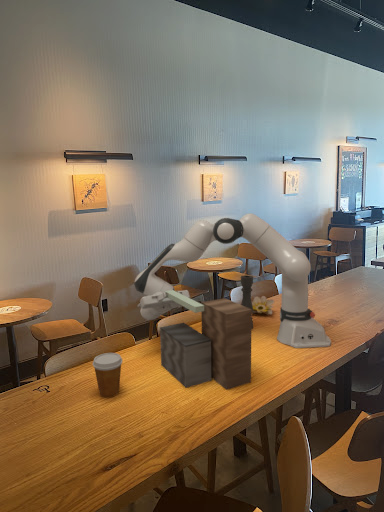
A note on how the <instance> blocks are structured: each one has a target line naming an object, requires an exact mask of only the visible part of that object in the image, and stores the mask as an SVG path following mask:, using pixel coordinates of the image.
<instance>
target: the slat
mask: <svg viewBox="0 0 384 512" xmlns="http://www.w3.org/2000/svg"><path fill="white" fill-rule="evenodd" d="M174 290H175V289H174ZM174 290H169V291H165V293H166V292H167V293H168V297H167V298H169V299H171V300H173V301H175V302H176V303H178V304H180V305H181V306H183V308H185V309H187V310H189V311H191V312H193V313H195V314H197V313H201V312H203V311H204V305H202V304H201V303H200V302H198V301H196V300H194V299H192V298H191V297H190V298H188V297H186V296H184V295H182V294H180V293H178V292H176V291H177V290H175V291H174Z"/></svg>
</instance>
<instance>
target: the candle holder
mask: <svg viewBox="0 0 384 512" xmlns="http://www.w3.org/2000/svg"><path fill="white" fill-rule="evenodd" d="M240 284H241V285H240V286H241V287H242V288H241V289H240V290H241V292H242V298H241V303H240V305H242V306H245V307H247V308H249V309H252V311H253V306H252V301H253V300H252V292H253V288H252V286H253V285H254V276H253V275H249V274H248V275H245V274H244V275H242V276H240ZM253 329H254V320H253V317H252V330H253Z"/></svg>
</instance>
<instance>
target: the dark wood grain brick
mask: <svg viewBox="0 0 384 512" xmlns="http://www.w3.org/2000/svg"><path fill="white" fill-rule="evenodd" d="M159 334H160V336H159V337H160V338H159V339H160V364H161V366H162V367H163V368H164V369H165V370H166V371H167V372H168V373H169V374H171V376H173V377H174V378H175V380H177V381H178V382H179V383H180V384H181V385H182V386H183V387H184V388H191V387H195V386H197V385H201V384H204V383H207V382H211V381H212V378H211V339H209V338H208V337H206V336H204V335H203V334H202V332H200V331H198V330H197V329H194V327H192V326H190V325H188V324H187V323H185V322H180V323H174V324H171V325H170V324H169V325H165V326H160V327H159Z"/></svg>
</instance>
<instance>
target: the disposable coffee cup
mask: <svg viewBox="0 0 384 512" xmlns="http://www.w3.org/2000/svg"><path fill="white" fill-rule="evenodd" d="M122 364H123V358H122V356H121V355H120V354H118V353H116V352H106V353H101V354H99V355H96V356H95V357H94V358H93V362H92V366H93V368H94V372H95V373H94V374H95V377H96V382H97V386H98V387H97V388H98V392H99V396H100V397H103V398H113V397H115V396H117V395H118V394H119V392H120V381H121V372H122V371H121V370H122Z"/></svg>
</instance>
